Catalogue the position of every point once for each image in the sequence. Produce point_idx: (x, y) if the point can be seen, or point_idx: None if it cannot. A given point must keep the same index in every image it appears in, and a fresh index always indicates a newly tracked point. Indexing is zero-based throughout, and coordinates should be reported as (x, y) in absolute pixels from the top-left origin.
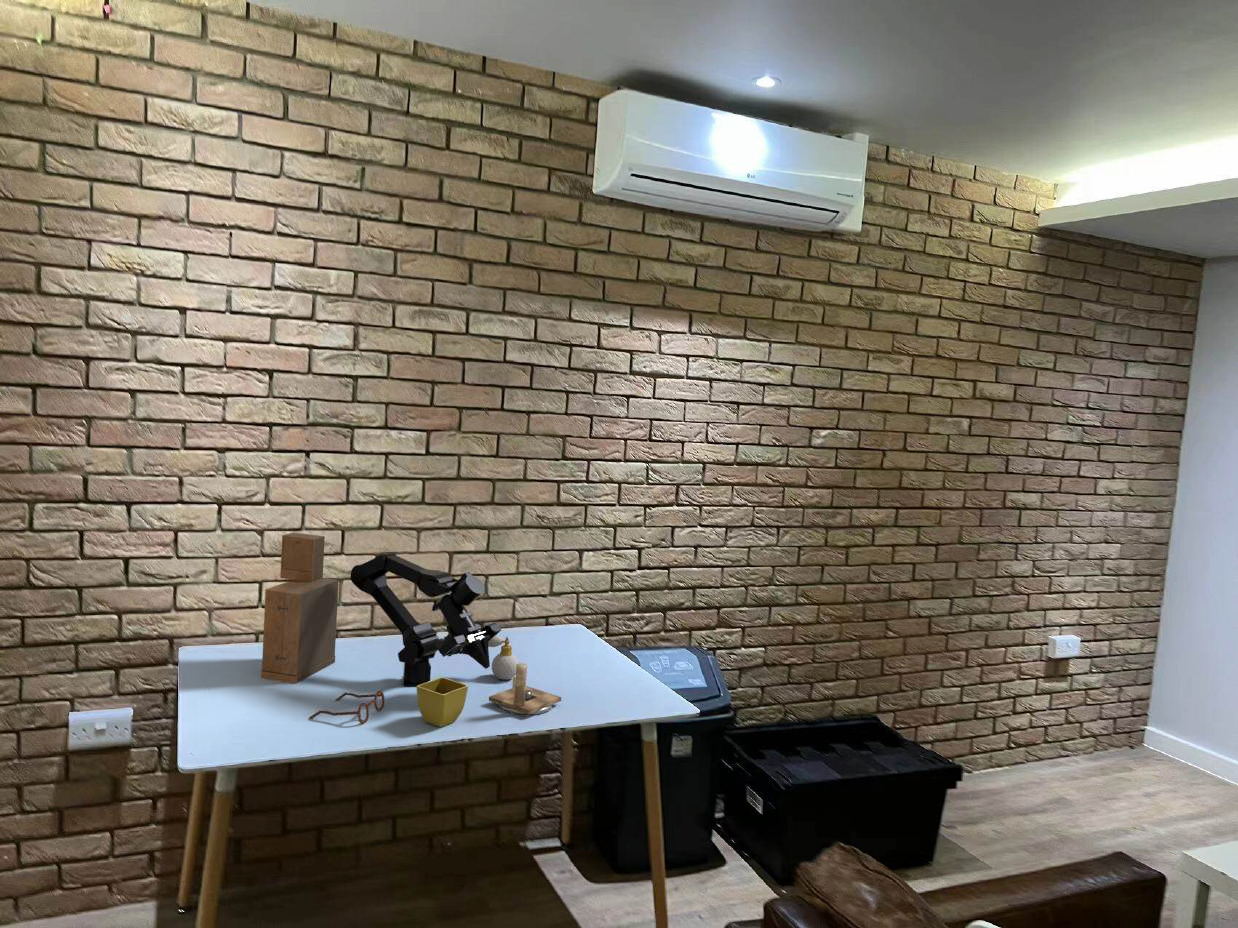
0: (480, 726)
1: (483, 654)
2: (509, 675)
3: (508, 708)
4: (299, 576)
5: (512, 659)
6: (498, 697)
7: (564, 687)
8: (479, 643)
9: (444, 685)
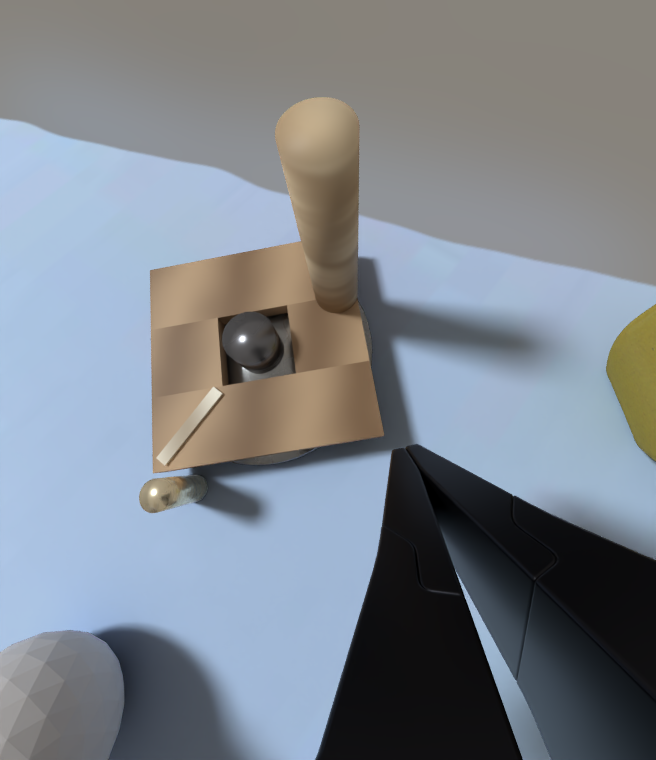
0: (534, 286)
1: (486, 495)
2: (88, 635)
3: (366, 327)
4: None
5: None
6: (354, 401)
7: (11, 414)
8: (652, 622)
9: None
